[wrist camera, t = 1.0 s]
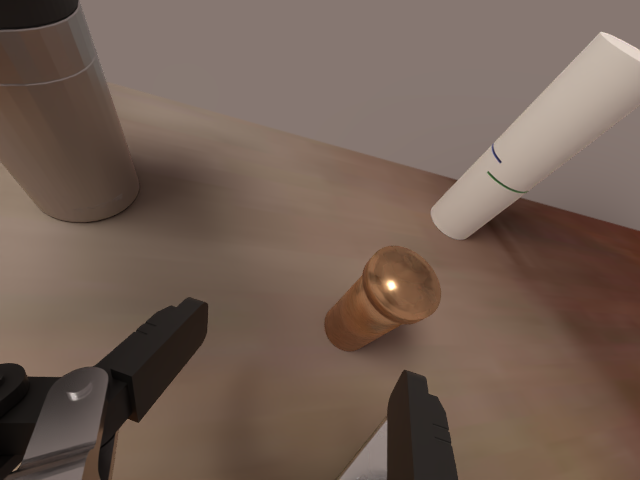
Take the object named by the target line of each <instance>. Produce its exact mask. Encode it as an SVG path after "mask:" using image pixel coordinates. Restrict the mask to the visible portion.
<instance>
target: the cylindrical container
mask: <svg viewBox="0 0 640 480" xmlns="http://www.w3.org/2000/svg"><path fill="white" fill-rule="evenodd" d="M638 106H640V50H639V49H637V48H635V47H634V46H632V45H630V44H628V43H626V42H624V41H622V40H621V39H619V38H616V37H614V36H612V35H610V34H607V33H604V32H600V33H599V34H598V35H597V36H596V38H594V39H593V40H592V41H591V42H590V43H589V44H588V46H587V47H586V48H585V49H584V50H583V51H582V52H581V53H580V54H579V55H578V56H577V57H576V58H575V59H574V60H573V61H572V62H571V63H570V64H569V65H568V66H567V67H566V69H564V70H563V71H562V73H561V74H560V75H559V76H558V77H557V78H556V79H555V80H554V81H553V82H552V83H551V84H550V85H549V86H548V87H547V88H546V89H545V90H544V91H543V92H542V93H541V94H540V95H539V97H538V98H536V100H535V101H534V102H533V103H532V104H531V105H530V106H529V107H528V108H527V109H526V110H525V111H524V112H523V113H522V114H521V115H520V116H519V117H518V118H517V119H516V120H515V121H514V123H513V124H512V125H511V126H510V127H509V128H508V129H507V130H506V131H505V132H504V133H503V134H502V135H501V136H500V137H499V138H498V139H497V140H496V141H495V142H494V143H493V144H492V145H491V146H490V147H489V149H488V150H487V151H486V152H485V153H484V154H483V155H482V156H481V157H480V158H479V159H478V160H477V161H476V162H475V163H474V164H473V165H472V166H471V167H470V168H469V169H468V171H466V172H465V173H464V175H463V176H462V177H461V178H460V179H459V180H458V181H457V182H456V183H455V184H454V185H453V186H452V187H451V188H450V189H449V190H448V191H447V192H446V193H445V194H444V195H443V196H442V197H441V198H440V199H439V201H438V202H437V203H436V204H435V205H434V206H433V207H432V209H431V217H432V220H433V222H434V224H435V225H436V226H437V228H438V229H439V230H440V231H441V232H443V233H444V234H445V235H447V236H448V237H451V238H453V239H457V240H464V239H466V238H468V237H469V236H470V235H472V234H473V233H474V232H476V231H477V230H478V229H480V228H481V227H482V226H483V225H485V224H486V223H487V222H489V221H490V220H491V219H493V218H494V217H495V216H496V215H498V214H499V213H500V212H502V211H503V210H504V209H506V208H507V207H508V206H510V205H511V204H512V203H513V202H515V201H516V200H517V199H519V198H520V197H521V196H522V195H524V194H525V193H527V192H528V191H529V190H530V189H532V188H533V187H534V186H536V185H537V184H538V183H539V182H541V181H542V180H543V179H545V178H546V177H547V176H549V175H550V174H551V173H553V172H554V171H555V170H556V169H558V168H559V167H560V166H562V165H563V164H564V163H566V162H567V161H568V160H569V159H571V158H572V157H573V156H575V155H576V154H577V153H578V152H580V151H581V150H582V149H584V148H585V147H586V146H587V145H589V144H590V143H592V142H593V141H594V140H595V139H597V138H598V137H599V136H600V135H602V134H603V133H605V132H606V131H607V130H608V129H610V128H611V127H612V126H614V125H615V124H616V123H618V122H619V121H620V120H621V119H623V118H624V117H625V116H627V115H628V114H629V113H631V112H632V111H633V110H634V109H636V108H637V107H638Z"/></svg>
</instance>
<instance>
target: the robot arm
mask: <svg viewBox="0 0 640 480" xmlns="http://www.w3.org/2000/svg"><path fill="white" fill-rule="evenodd" d="M0 161H1V163H2V164H3V165H4V166H5V168H6V169H7V170H8V171H9V172H10V174H11V175H12V176H13V177H14V179H15V180H16V181H17V182H18V184H19V185H20V186H21V187H22V188H23V190H24V191H25V192H26V193H27V194H28V196H29V197H30V198H31V199H32V200H33V202H34V203H35V204H36V205H37V206H38V207H39V208H40V209H41V211H43V212H44V213H46V214H48V215H49V216H51V217H54V218H57V219H59V220H64V221H70V222H90V221H97V220H101V219H105V218H108V217H111V216H113V215H116V214H118V213H119V212H121V211H123V210H124V209H126V208H127V207H128V206H129V205H130V204H131V203H132V202H133V201H134V200H135V198H136V197H137V194H138V192H139V180H138V177H137V174H136V171H135V168H134V165H133V162H132V158H131V155H130V152H129V149H128V146H127V143H126V140H125V137H124V133H123V130H122V127H121V124H120V121H119V118H118V115H117V112H116V109H115V106H114V103H113V100H112V97H111V94H110V91H109V88H108V85H107V82H106V79H105V76H104V73H103V70H102V67H101V64H100V61H99V58H98V55H97V52H96V49H95V46H94V43H93V41H92V37H91V34H90V31H89V28H88V25H87V22H86V19H85V16H84V13H83V10H82V7H81V4H80V1H79V0H0ZM207 323H208V304H207V303H206V302H203V301H200V300H197V299H194V298H191V297H188V298H186V299H185V300H184V301H183V302H182V303H181V304H179V305H178V306H177V307H174V306H169V307H167V308H165V309H163V310H161V311H158V312H157V313H155V314H154V315H153V316H152V317H151V318H150V319H148V320H147V321H146V323H145V324H143V325H142V326H140V327H139V328H138V329H137V331H136V332H133V333H132V334H131V335H130V336H129V337H128V338H126V339H125V340H124V341H123V342H122V343H121V344H120V345H118V346H117V347H116V348H115V349H114V350H113V351H111V352H110V353H109V354H108V355H107V356H106V357H105V358H103V359H102V360H101V361H100V362H99V363H97V364H96V365H95V366H93V367H84V368H80V369H77V370H74V371H72V372H70V373H68V374H66V375H64V376H63V377H27V375H26V372H25V370H24V368H23V367H22V366H20V365H18V364H14V363H5V364H0V480H112V475H113V468H114V461H115V454H116V447H117V440H118V433H119V428H120V427H121V426H122V424H123V423H124V422H125V421H126V420H127V419H130V420H132V421H135V422H137V423H139V422H140V420H141V419H142V418H143V417H144V415H145V414H146V413H147V412H148V410H149V409H150V408H151V407H152V405H153V404H154V403H155V402H156V400H157V399H158V398H159V397H160V395H161V394H162V393H163V392H164V390H165V389H166V388H167V387H168V386H169V384H170V383H171V382H172V381H173V379H174V378H175V377H176V376H177V374H178V373H179V372H180V371H181V369H182V368H183V367H184V366H185V364H186V363H187V362H188V361H189V359H190V358H191V357H192V356H193V354H194V353H195V352H196V351H197V349H198V348H199V347H200V346H201V344H202V343H203V341H204V339H205V337H206V334H207ZM448 430H449V427H448V422H447V417H446V412H445V410H444V408H443V407H442V405H441V403H440V401H439V399H438V397H436V396H433V395H430V394H428V387H427V380H426V378H425V376H422V375H419V374H416V373H413V372H410V371H407V370H404V371H403V372H402V374H401V376H400V378H399V380H398V382H397V384H396V385H395V387H394V389H393V391H392V393H391V396H390V399H389V403H388V410H387V480H458V476H457V470H456V465H455V460H454V454H453V449H452V446H451V438H450V433H449V432H448ZM21 462H22V463H21ZM20 463H21V465H20V467H19V468H18V469H17V470H16V471H13V470H14V469H15V468H16V467H17V466H18V465H19V464H20ZM12 471H13V472H12Z"/></svg>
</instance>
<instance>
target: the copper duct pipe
mask: <svg viewBox="0 0 640 480" xmlns="http://www.w3.org/2000/svg"><path fill="white" fill-rule="evenodd" d="M440 299H441V289H440V284H439V281H438V278H437V276H436V274H435V272H434V271H433V269H432V268H431V266H430V265H429V264H428V263H427V262H426V261H425V260H424V259H423V258H422V257H421V256H420V255H418V254H417V253H415V252H413V251H412V250H409V249H407V248H404V247H400V246H388V247H384V248H382V249H380V250H379V251H377V252H376V253H375V254H374V255H373V257H372V258H371V259H370V260H369V261H368V262H367V264H366V265H365V267H364V270H363V274H362V276H361V277H360V278H359V279H358V280H357V281H356V283H355V284H354V285H353V286H352V287H351V288H350V289H349V290H348V291H347V292H346V293H345V294H344V295H343V297H342V298H341V299H340V300H339V301H338V302H337V303H336V304H335V305H334V306H333V307H332V308H331V309H330V311H329V312H328V313H327V315H326V318H325V331H326V334H327V337H328V338H329V340H330V341H331V343H332V344H333V345H334V346H336V347H337V348H339V349H341V350H344V351H355V350H358V349H359V348H361V347H363V346H365V345H366V344H368V343H370V342H372V341H373V340H375V339H377V338H379V337H380V336H382V335H384V334H386V333H388V332H389V331H391V330H393V329H395V328H396V327H398V326H400V325H402V324H414V323H417V322H419V321H421V320H423V319H425V318H426V317H428V316H430V315H432V314H433V313H434V312H435V311H436V309H437V308H438V306H439V303H440Z"/></svg>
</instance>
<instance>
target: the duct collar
mask: <svg viewBox="0 0 640 480" xmlns="http://www.w3.org/2000/svg"><path fill="white" fill-rule="evenodd" d="M336 480H387V417H386V418H385V419H384V421H383V422H382V423H381V424H380V425H379V427H378V428H377V429H376V430H375V432H374V433H373V434H372V435H371V437H370V438H369V439H368V440H367V442H366V443H365V444H364V445H363V447H362V448H361V449H360V450H359V452H358V453H357V454H356V455H355V456H354V458H353V459H352V460H351V461H350V463H349V464H348V465H347V466H346V468H345V469H344V470H343V471H342V473H341V474H340V475H339V476H338V478H337V479H336Z"/></svg>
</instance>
